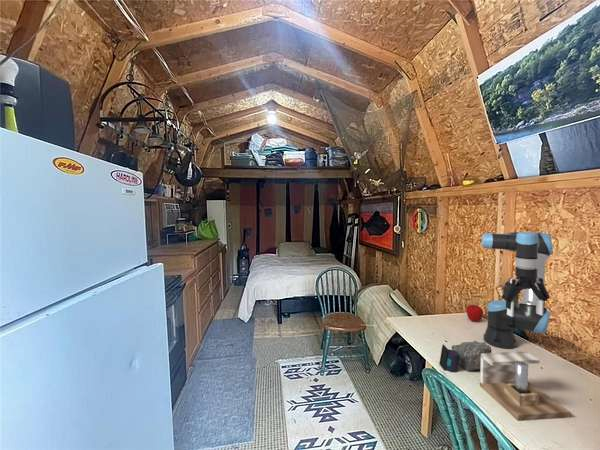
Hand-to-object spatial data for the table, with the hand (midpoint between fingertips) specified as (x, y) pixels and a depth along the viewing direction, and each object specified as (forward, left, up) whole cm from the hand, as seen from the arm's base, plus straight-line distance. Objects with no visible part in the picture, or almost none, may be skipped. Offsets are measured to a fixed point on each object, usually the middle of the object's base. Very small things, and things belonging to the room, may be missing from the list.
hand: (524, 315), depth 126 cm
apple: (-20, -62, -29) cm, 71 cm away
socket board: (+13, +14, -29) cm, 34 cm away
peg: (+15, +16, -27) cm, 35 cm away
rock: (+15, -12, -29) cm, 35 cm away
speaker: (+28, -10, -29) cm, 41 cm away
